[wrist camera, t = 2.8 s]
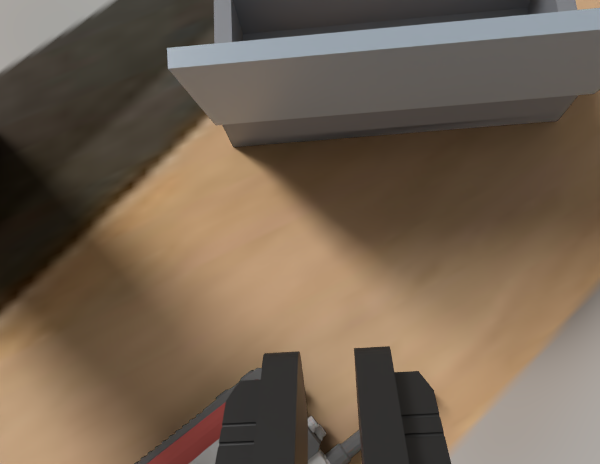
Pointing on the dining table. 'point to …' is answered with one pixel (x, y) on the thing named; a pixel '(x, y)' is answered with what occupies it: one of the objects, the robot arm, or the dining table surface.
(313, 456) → the walkie-talkie
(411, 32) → the duct lid
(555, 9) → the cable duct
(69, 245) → the dining table surface
